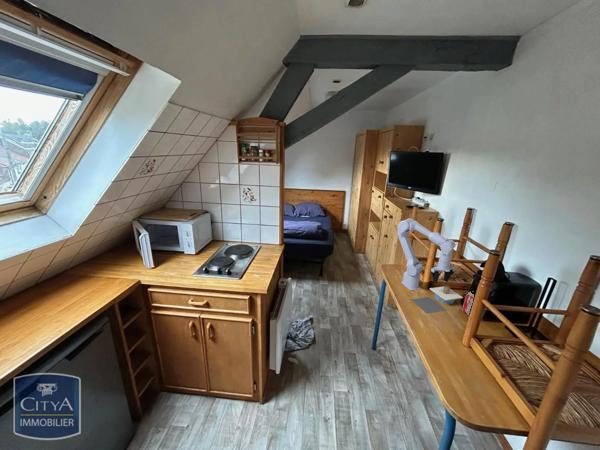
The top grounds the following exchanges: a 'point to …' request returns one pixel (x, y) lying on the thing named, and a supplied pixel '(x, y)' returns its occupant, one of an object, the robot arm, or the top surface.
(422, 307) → the mat
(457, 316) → the top surface
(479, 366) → the top surface
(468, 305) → the soda can
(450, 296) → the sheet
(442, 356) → the top surface
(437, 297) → the bowl
